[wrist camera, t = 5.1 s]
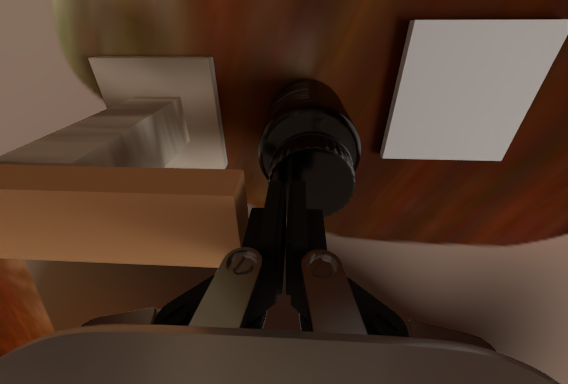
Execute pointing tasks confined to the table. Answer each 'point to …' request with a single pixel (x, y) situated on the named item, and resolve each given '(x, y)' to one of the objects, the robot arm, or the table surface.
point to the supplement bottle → (311, 145)
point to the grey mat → (467, 86)
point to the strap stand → (141, 119)
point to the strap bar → (121, 214)
